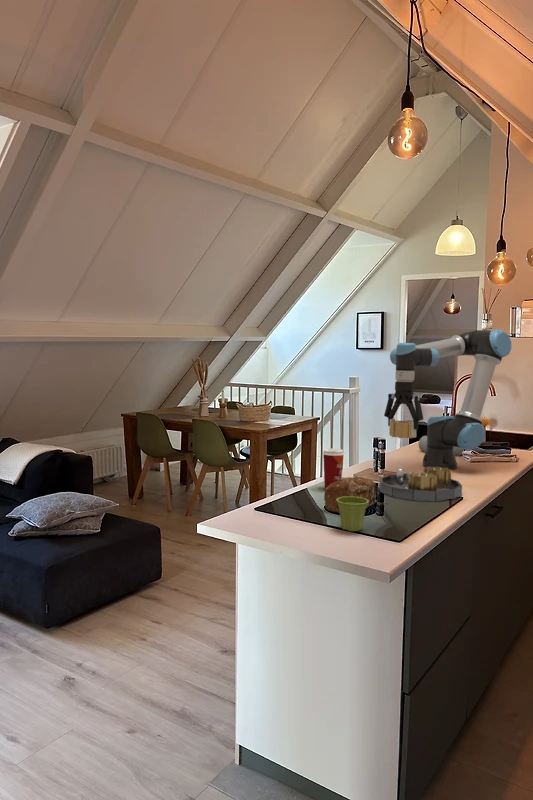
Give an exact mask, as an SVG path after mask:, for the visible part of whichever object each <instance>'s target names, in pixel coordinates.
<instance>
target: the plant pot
mask: <svg viewBox="0 0 533 800" xmlns="http://www.w3.org/2000/svg"><path fill="white" fill-rule="evenodd" d="M336 501H337V502H338V506H339V510H340V513H339V515H340V525H341V530H344V531H345V530H346V531H348V532H358V531H361V530H362V529H363V526H364V520H365V519H364V518H365V514H366V509H367V508H366V506H367V503H368V502H369V501H368V500H367V499H365V498H361V497H340V498H337V499H336Z"/></svg>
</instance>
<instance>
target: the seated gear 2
mask: <svg viewBox="0 0 533 800" xmlns="http://www.w3.org/2000/svg"><path fill="white" fill-rule="evenodd" d="M423 472H424V473H433V474H434V475H437V487H448V486H451V479H452V469H448V468H442V467H437V466H436V467H424V468H423Z"/></svg>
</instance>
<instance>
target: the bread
mask: <svg viewBox="0 0 533 800" xmlns="http://www.w3.org/2000/svg"><path fill="white" fill-rule="evenodd" d="M377 489H378V487H377V484H376V482H375V481H374V480H373V479H369V478H366V477H362V476H360V477H359V476H355V477H345V478H342V480H339V481H337V482H333V483H332V484H330V485H329V486H328V487H327V488H326V490H325V489H324V495H323V500H324V502H325V503H324V507H325V510H327V511H329V512H333V513H338V514H340V510H339V506H338V502H337V501H336V499H337V498H340V497H361V498H365V499H367V500H368V501H369V502H368V503H367V506H366V508H365V509H368V508H369V507H371V506H374V505H375V503H376V497H377Z"/></svg>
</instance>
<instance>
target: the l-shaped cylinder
mask: <svg viewBox="0 0 533 800" xmlns="http://www.w3.org/2000/svg"><path fill="white" fill-rule="evenodd" d="M418 448H419V450H420V451H421V452H423V451H424V452H423V453H426V450H427V435H423V436H422V437H421V438H420V439H419V441H418ZM464 450H465V449H462V448H459V447H453V451H454V454H455V457H460V456H459V455H461V454H462V452H463V451H464ZM464 452H465V451H464ZM464 452H463V453H464Z"/></svg>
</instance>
